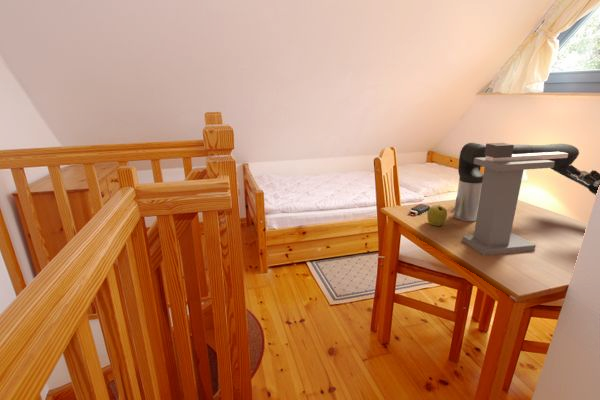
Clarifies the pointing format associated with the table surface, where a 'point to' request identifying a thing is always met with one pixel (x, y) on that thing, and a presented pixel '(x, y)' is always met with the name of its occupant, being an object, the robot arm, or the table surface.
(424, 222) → the table surface
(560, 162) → the robot arm
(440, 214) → the apple
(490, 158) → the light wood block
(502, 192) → the gray stand
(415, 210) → the usb drive
